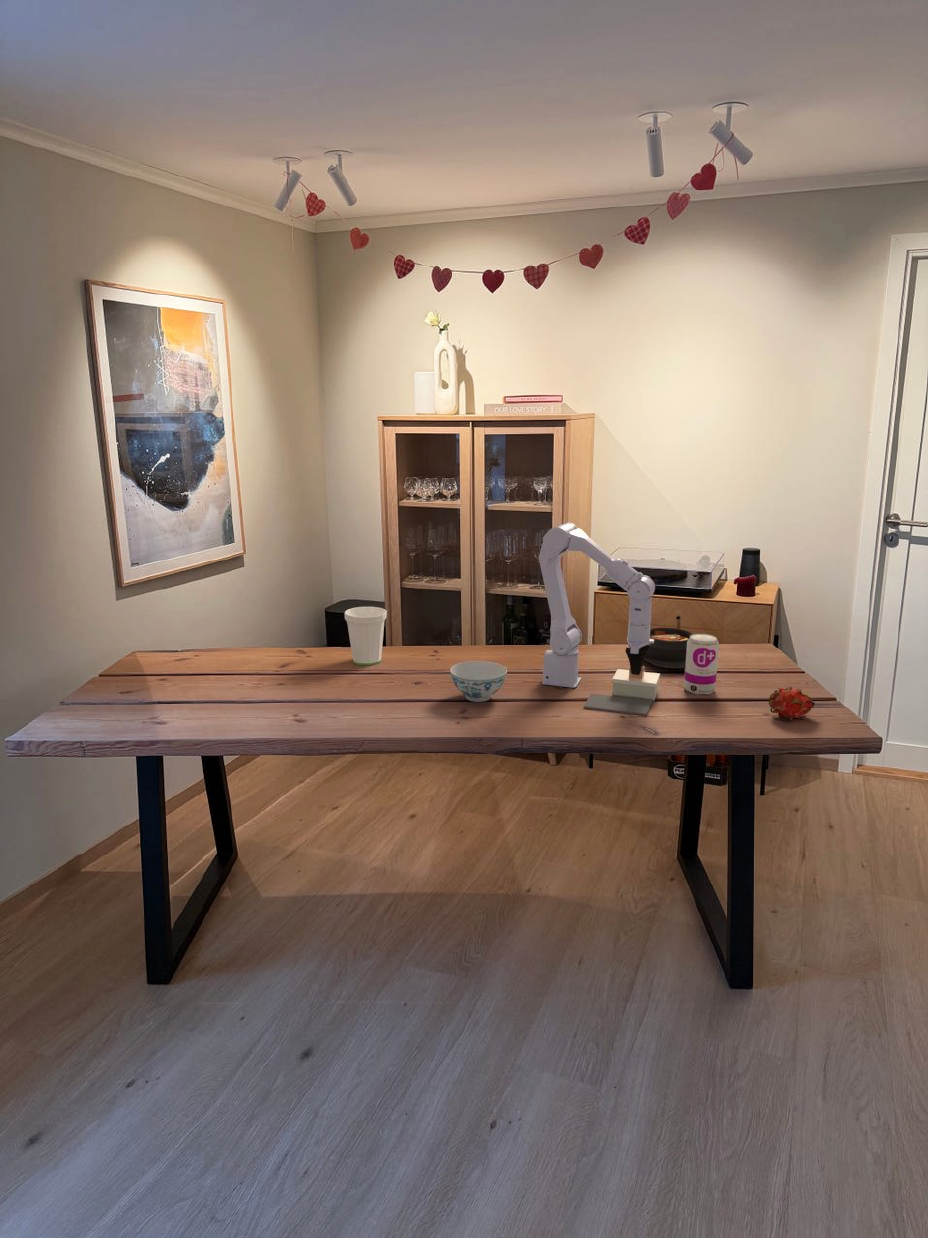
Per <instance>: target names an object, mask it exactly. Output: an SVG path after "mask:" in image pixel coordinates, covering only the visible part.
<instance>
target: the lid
mask: <svg viewBox="0 0 928 1238" xmlns="http://www.w3.org/2000/svg"><path fill="white" fill-rule="evenodd" d="M660 678H661V673H657V672H649V671H648V672H646V671H645V665H643V666H642V668H641V672H640V674H639V675H634V674H631V669H630V667H629V668H628V669H620V668H617V669H616V671H615V674H614V675H613V677H612V682H611V683H613V682H614V683H622V684H631V685H640V686H649V687H656V686H657V683H658V681H660Z"/></svg>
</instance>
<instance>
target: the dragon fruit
mask: <svg viewBox="0 0 928 1238" xmlns="http://www.w3.org/2000/svg"><path fill="white" fill-rule="evenodd" d="M815 703H816V702H814V699H813V698H812V697H811V696H809V695H808V694H805V693H802V689H801V688H797V689H793V687H792V686H789V687H787V688H783V687H778V688H777V689H776V690H774V691H773V693H771V694H770V695H769V700H768V705H769V707H770V709H769V710H770V712H771V713H772V714H778V717H779V718H782V717H783V718H784V717H785V718H786V719H788V720H789V721H792V720H793V719H799V720H802V719H805V718H806V717H807V715H806V714H808V713H809V712H810V711H812V709H813V708H814V707H815Z"/></svg>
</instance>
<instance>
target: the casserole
mask: <svg viewBox="0 0 928 1238" xmlns="http://www.w3.org/2000/svg"><path fill="white" fill-rule="evenodd" d="M693 634H694V633H693V632H690V631H689V630H685V629H681V628H675V627H654V628H650V639H654V643H653V644H651V645H650V647H649V649H648V652H647V654H646V656H645V660H644V661H646V662H649V663H651V664H652V665H653V666H656V667H658V668H665V669H676V670H677V669H685V665H686V652H687V641H688V640H689V638H690V636H691V635H693Z"/></svg>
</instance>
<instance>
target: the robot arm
mask: <svg viewBox="0 0 928 1238" xmlns="http://www.w3.org/2000/svg"><path fill="white" fill-rule="evenodd" d="M566 551H568V552H582V553H583V555H586V556H587V557H589V558H590V559H591V560H593V561H594V562H595V563H597V564H598V565H599V566H601V567H603V568H604V569H605V574H606V576H607V577H608V578H609V579H610V580H612V581H613V582H614V583H616V584H617V585H618V586H619V587H621V589H623V590H624V591H626V593H627V596H628V598H629V609H628V626H627V628H628V629H627V637H626V642H627V643H628V647H626V648H625V650H624V651H625V654H626V656H627V658H628V661H629V668H630V669H631V674H634V675H639V674H640V672H641V668H642V666H644V663H645V661H646V660H645V656H646V654H647V652H648V649H649V647H650V645H651V644H653V643H654V639H650V629H651V623H652V602H653V600H652V599H653V597H652V596H653V594H654V593H655V590H656V585H655V581H654V580H653V579H652V578H651V577H650V576H649V575H645V574H643V573H642V571H640V572H639V571H637V570H636V569H634V567H632V566H631V565H629V563H630V562H629V561H628V560H627V559H622V558H613V557H612V556H611V555H610V554H609V553H608V552H606V551H605V550H604V549H603V548H602V547H601V546H599V545H598V543H596V542H595V540H593V539H592V538H590V536H588V535H587V534H586V532H585V531H584V530H583V529H581V528H579V527H577V526H576V525H575V524H574V523H573V522H572V523H571V522H564V523H561V524H560V525H558V526H554V527H552V528H550V529H549V530H548V531H547V532H546V533H545V535H544V536H543V537H542V545H541V548H540V552H539V555H538V562H539V565H540V570H541V574H542V575H541V576H542V579H543V580H542V581H543V585H544V588H545V593H546V597H547V603H548V608H549V612H550V616H551V625H550V629H549V631H550V639H549V647H550V648H551V649H546V650H545V652H544V654H543V663H542V682H541V684H542V685H544V686H545V685H547V686H555V687H563V688H564V687H565V688H572V689H573V688H574V689H575V688H577V687H578V685H579V684H580V682H581V680H582V677H581V676H580V677H579V675H578V674H579V648H578V645H579V644H580V643H581V642H582V639H583V635H582V634H583V633H582V631H581V629H580V628H579V626H578V625H577V621H576V619H575V618H574V617H573V616H572V613H571V609H570V604H569V599H568V595H567V591H566V590H567V589H566V586H565V581H564V576H563V572H562V571H563V570H562V567H561V562H560V559H561V558H562V557H563V555H564V554H565V552H566Z"/></svg>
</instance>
